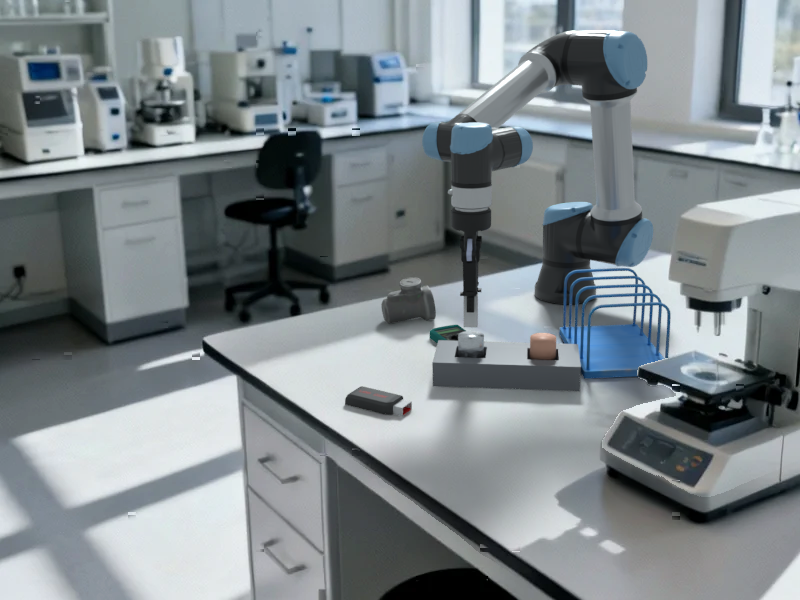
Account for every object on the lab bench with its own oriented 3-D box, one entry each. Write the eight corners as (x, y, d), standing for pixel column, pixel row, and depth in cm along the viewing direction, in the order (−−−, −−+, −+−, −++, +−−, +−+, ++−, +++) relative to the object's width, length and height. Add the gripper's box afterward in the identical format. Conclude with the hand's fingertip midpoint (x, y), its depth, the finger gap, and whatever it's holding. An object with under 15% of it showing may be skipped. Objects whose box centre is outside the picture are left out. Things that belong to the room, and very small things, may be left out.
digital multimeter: (459, 362, 191) (459, 349, 190) (428, 339, 204) (428, 327, 203) (490, 357, 194) (490, 343, 193) (458, 334, 207) (458, 322, 206)
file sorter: (558, 335, 204) (561, 268, 200) (636, 332, 205) (640, 266, 200) (583, 379, 181) (587, 305, 176) (672, 376, 181) (677, 302, 176)
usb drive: (360, 396, 176) (360, 383, 175) (414, 409, 170) (414, 395, 169) (344, 406, 172) (344, 392, 171) (399, 420, 166) (399, 406, 165)
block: (576, 367, 186) (577, 344, 185) (579, 391, 175) (580, 367, 173) (438, 362, 190) (438, 340, 188) (432, 386, 179) (432, 362, 177)
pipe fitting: (431, 310, 220) (426, 271, 216) (439, 324, 213) (434, 283, 209) (381, 320, 218) (376, 280, 214) (388, 334, 211) (382, 293, 207)
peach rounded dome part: (555, 352, 182) (556, 333, 181) (556, 361, 177) (556, 342, 176) (529, 351, 183) (530, 332, 182) (529, 360, 178) (530, 341, 177)
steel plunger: (484, 350, 184) (484, 331, 183) (483, 359, 179) (483, 340, 178) (459, 349, 185) (459, 330, 183) (457, 358, 180) (457, 339, 179)
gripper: (453, 199, 179) (454, 314, 187) (448, 215, 167) (448, 337, 174) (492, 200, 178) (491, 315, 186) (489, 215, 166) (488, 338, 173)
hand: (470, 325), depth 180 cm, fingers closed
